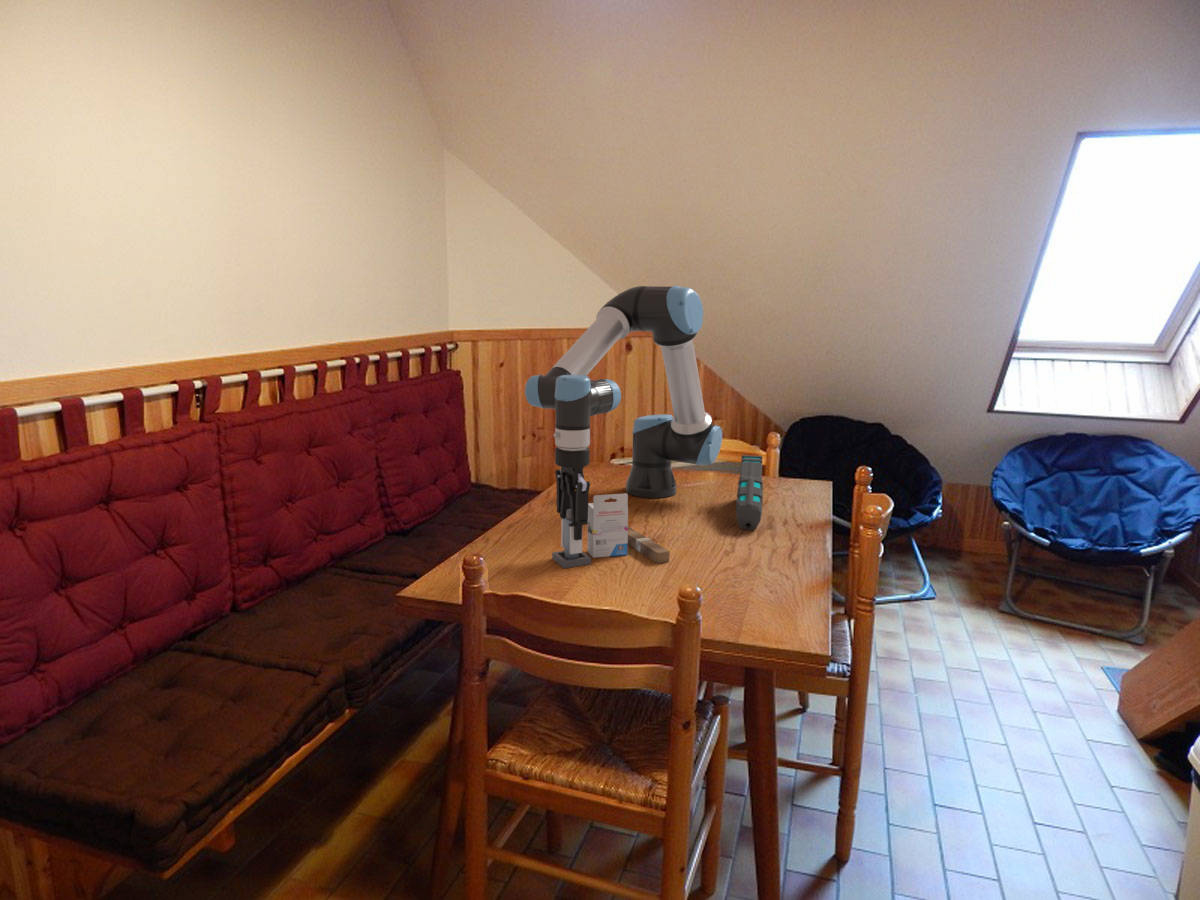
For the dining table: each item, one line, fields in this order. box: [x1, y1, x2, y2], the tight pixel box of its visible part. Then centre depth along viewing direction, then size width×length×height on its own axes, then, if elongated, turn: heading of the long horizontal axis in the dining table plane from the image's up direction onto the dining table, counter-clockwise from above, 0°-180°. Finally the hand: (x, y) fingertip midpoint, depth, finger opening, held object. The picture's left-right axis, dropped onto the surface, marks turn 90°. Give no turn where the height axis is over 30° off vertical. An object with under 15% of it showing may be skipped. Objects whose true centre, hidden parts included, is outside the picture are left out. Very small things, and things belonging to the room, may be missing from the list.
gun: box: [735, 454, 764, 531], centre depth 209 cm, size 7×29×15 cm, turn 168°
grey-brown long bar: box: [627, 526, 670, 565], centre depth 182 cm, size 24×3×3 cm, turn 26°
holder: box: [551, 550, 592, 569], centre depth 172 cm, size 7×7×2 cm
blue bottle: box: [563, 509, 579, 560], centre depth 171 cm, size 3×3×12 cm
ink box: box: [586, 492, 629, 559], centre depth 176 cm, size 8×5×15 cm, turn 105°
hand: (571, 549), depth 171 cm, fingers open, 4 cm apart
